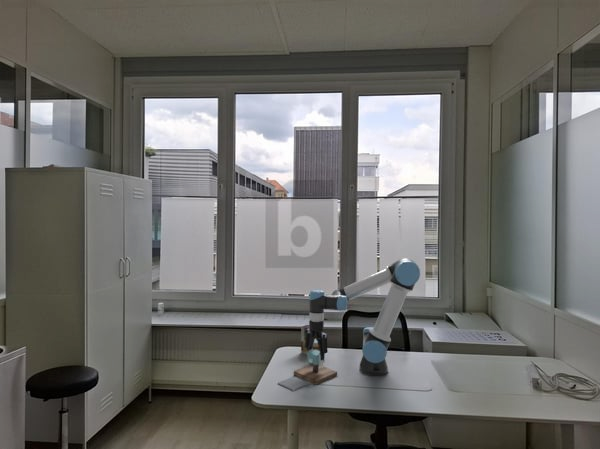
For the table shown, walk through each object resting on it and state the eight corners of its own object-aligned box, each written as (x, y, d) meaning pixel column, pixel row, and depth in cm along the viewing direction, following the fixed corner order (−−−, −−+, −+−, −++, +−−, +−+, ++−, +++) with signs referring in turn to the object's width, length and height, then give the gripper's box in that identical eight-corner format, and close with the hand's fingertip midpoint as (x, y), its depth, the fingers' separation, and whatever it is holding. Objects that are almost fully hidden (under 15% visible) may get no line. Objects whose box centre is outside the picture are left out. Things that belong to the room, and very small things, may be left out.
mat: (309, 384, 194) (309, 383, 194) (293, 391, 186) (293, 389, 186) (293, 377, 202) (293, 376, 202) (277, 383, 194) (277, 382, 194)
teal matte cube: (324, 362, 205) (324, 352, 205) (314, 365, 200) (315, 356, 200) (315, 358, 210) (315, 349, 210) (305, 362, 205) (305, 352, 204)
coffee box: (318, 353, 238) (319, 327, 238) (312, 356, 233) (312, 329, 233) (307, 350, 244) (307, 324, 244) (300, 352, 239) (300, 326, 239)
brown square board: (337, 375, 205) (337, 356, 205) (316, 384, 194) (316, 364, 194) (314, 366, 217) (314, 348, 216) (293, 374, 205) (294, 355, 205)
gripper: (335, 322, 201) (334, 367, 201) (307, 315, 214) (307, 357, 215) (325, 325, 195) (325, 371, 196) (298, 317, 209) (297, 360, 209)
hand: (315, 363), depth 205 cm, fingers closed on teal matte cube, 6 cm apart
